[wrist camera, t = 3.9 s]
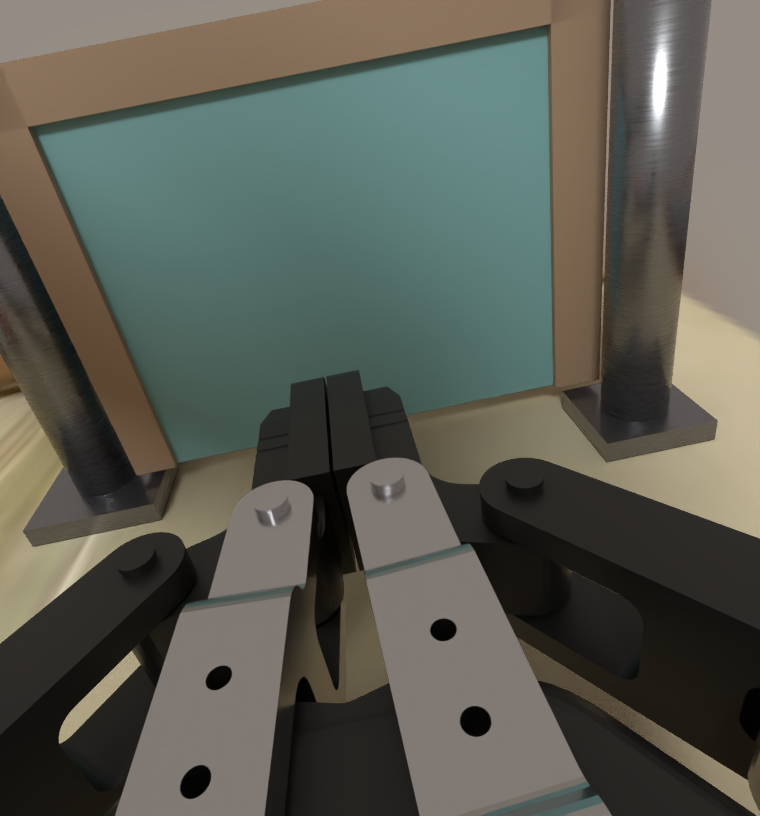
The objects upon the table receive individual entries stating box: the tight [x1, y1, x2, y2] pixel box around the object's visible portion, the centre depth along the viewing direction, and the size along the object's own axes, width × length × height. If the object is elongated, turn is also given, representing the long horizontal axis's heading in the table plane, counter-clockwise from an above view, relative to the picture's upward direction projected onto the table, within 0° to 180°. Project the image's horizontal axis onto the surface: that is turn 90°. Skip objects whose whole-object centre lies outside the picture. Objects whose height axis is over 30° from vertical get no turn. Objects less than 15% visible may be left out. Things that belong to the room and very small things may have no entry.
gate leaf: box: [0, 0, 611, 475], centre depth 20 cm, size 19×2×14 cm, turn 97°
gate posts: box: [0, 0, 717, 547], centre depth 19 cm, size 26×7×16 cm, turn 97°
